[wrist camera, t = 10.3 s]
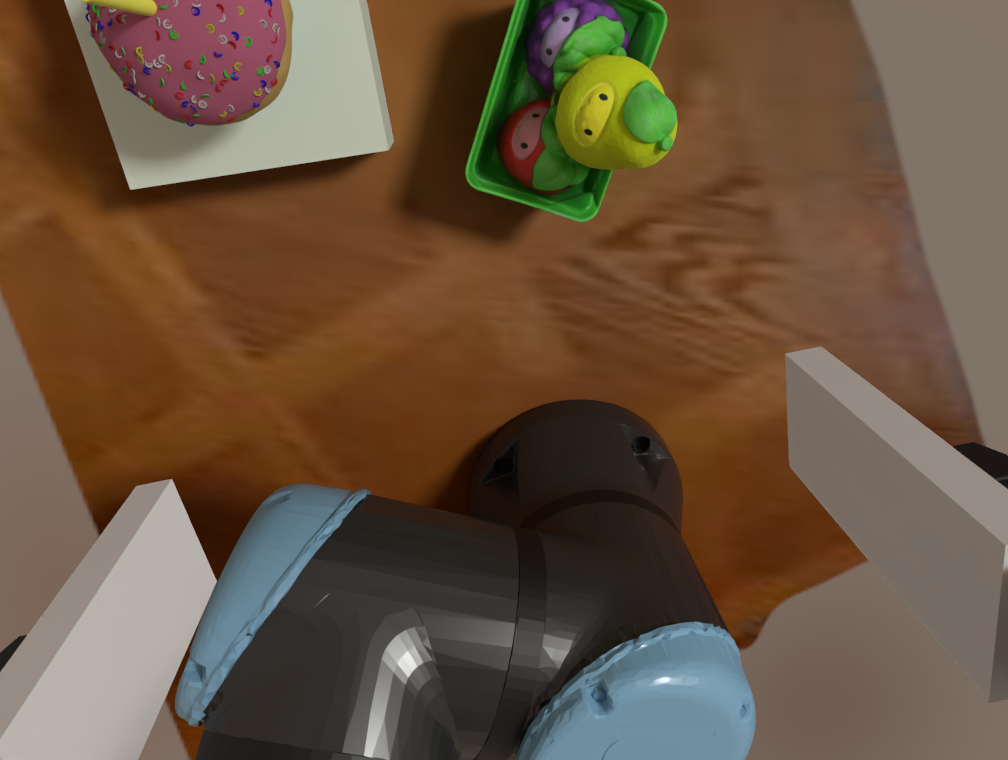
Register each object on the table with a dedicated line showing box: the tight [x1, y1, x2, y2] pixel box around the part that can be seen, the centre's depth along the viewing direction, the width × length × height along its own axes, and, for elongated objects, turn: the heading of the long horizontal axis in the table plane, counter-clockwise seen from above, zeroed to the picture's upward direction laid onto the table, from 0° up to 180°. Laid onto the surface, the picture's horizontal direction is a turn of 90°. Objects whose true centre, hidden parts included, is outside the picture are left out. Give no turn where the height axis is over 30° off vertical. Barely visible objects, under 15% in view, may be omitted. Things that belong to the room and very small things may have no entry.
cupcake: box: [80, 0, 293, 127], centre depth 31 cm, size 9×8×12 cm
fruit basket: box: [465, 0, 677, 222], centre depth 38 cm, size 11×9×11 cm
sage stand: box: [64, 0, 394, 190], centre depth 38 cm, size 14×14×4 cm
